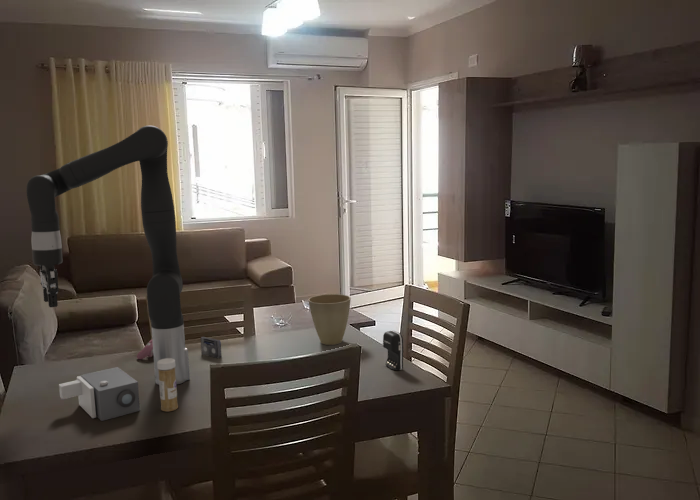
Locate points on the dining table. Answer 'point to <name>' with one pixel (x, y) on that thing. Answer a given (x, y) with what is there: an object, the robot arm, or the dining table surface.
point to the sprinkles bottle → (167, 384)
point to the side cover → (80, 394)
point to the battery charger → (394, 349)
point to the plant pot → (330, 316)
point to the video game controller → (146, 351)
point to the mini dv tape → (211, 347)
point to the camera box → (113, 393)
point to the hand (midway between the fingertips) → (50, 304)
